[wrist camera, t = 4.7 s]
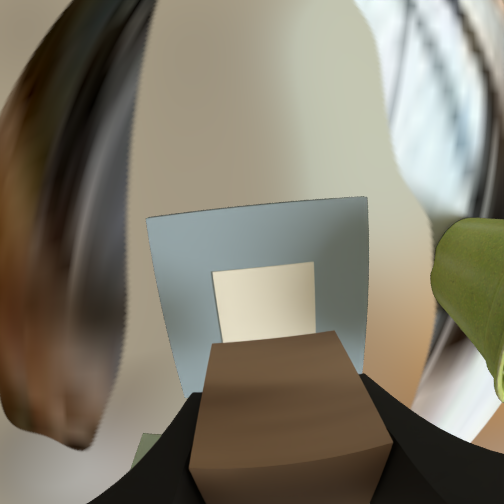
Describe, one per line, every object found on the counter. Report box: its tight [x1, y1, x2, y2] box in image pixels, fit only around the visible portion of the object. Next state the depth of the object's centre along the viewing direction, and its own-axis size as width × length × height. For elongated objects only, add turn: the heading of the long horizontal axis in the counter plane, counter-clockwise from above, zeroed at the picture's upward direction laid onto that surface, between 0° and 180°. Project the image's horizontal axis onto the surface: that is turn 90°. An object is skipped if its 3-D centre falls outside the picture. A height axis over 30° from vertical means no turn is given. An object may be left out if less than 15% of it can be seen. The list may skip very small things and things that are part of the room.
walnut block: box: [189, 330, 393, 504], centre depth 7 cm, size 4×4×5 cm
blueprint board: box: [146, 196, 369, 398], centre depth 16 cm, size 11×11×1 cm
